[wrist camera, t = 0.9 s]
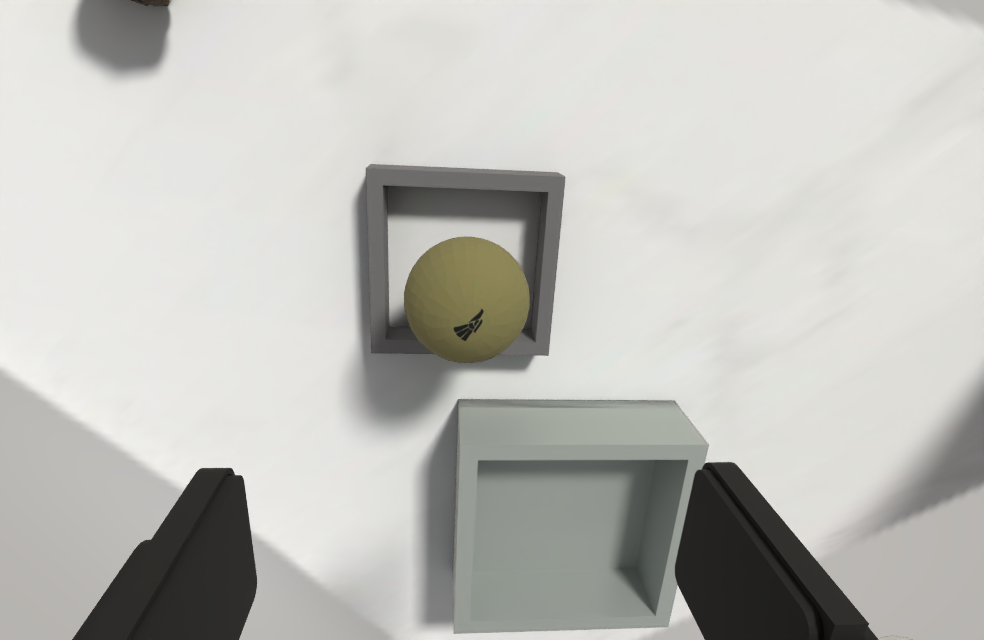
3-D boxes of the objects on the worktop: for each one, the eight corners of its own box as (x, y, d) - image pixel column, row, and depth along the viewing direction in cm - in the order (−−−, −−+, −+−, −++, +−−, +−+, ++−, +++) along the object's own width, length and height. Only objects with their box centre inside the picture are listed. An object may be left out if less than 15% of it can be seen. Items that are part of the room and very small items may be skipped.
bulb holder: (557, 172, 30) (565, 176, 28) (542, 341, 33) (548, 355, 32) (371, 164, 29) (365, 168, 27) (375, 339, 32) (371, 352, 31)
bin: (674, 400, 36) (708, 444, 31) (642, 567, 41) (668, 627, 36) (458, 399, 34) (460, 444, 30) (452, 571, 39) (453, 633, 35)
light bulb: (488, 318, 33) (504, 403, 23) (399, 285, 31) (379, 359, 22) (527, 233, 31) (562, 286, 22) (434, 193, 30) (429, 232, 20)
